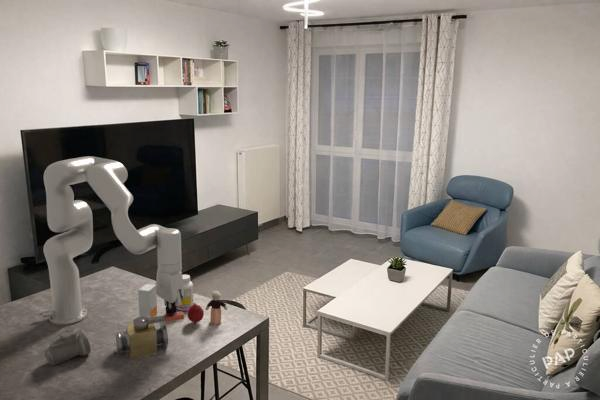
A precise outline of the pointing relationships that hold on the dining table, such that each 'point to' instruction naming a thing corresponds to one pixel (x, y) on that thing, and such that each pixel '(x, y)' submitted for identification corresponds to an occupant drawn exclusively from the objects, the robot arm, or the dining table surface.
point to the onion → (195, 313)
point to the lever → (156, 320)
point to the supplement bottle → (187, 294)
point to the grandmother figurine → (216, 308)
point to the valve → (141, 340)
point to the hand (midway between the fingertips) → (171, 316)
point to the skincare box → (147, 301)
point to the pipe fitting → (67, 346)
